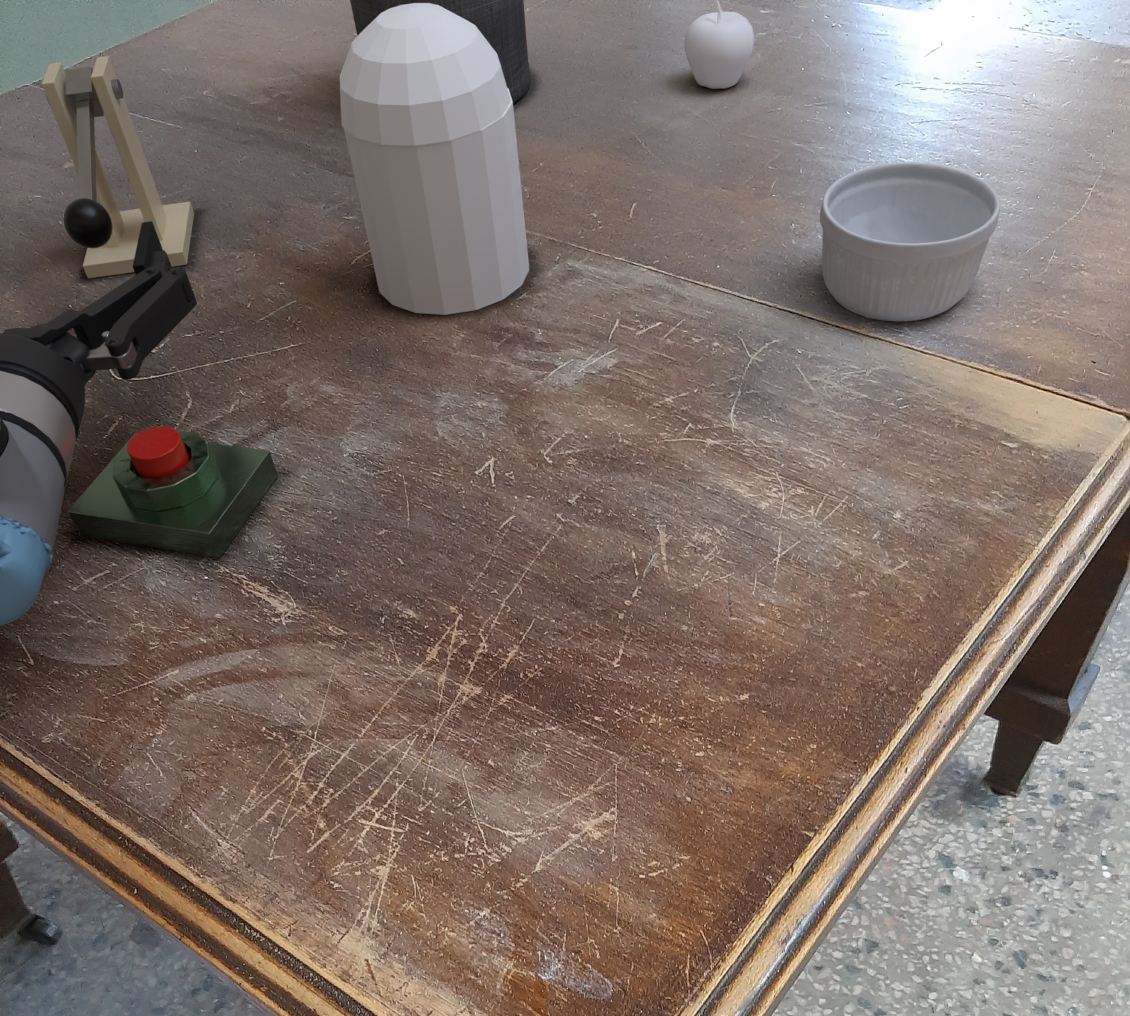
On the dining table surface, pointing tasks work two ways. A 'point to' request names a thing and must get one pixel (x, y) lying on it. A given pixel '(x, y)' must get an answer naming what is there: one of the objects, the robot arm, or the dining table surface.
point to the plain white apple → (719, 48)
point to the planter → (496, 15)
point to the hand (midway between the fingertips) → (61, 252)
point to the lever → (86, 165)
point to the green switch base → (177, 499)
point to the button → (157, 452)
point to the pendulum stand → (167, 219)
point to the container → (434, 161)
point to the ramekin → (905, 238)
